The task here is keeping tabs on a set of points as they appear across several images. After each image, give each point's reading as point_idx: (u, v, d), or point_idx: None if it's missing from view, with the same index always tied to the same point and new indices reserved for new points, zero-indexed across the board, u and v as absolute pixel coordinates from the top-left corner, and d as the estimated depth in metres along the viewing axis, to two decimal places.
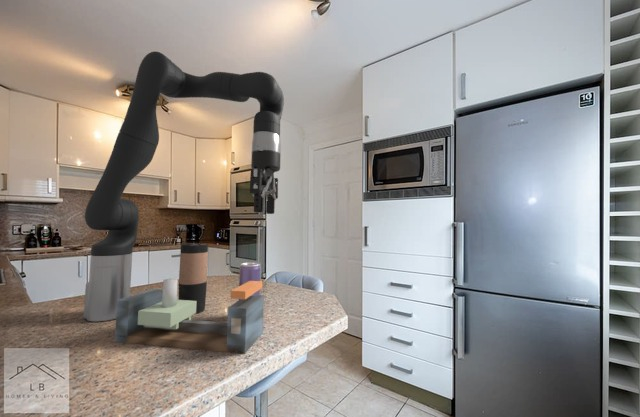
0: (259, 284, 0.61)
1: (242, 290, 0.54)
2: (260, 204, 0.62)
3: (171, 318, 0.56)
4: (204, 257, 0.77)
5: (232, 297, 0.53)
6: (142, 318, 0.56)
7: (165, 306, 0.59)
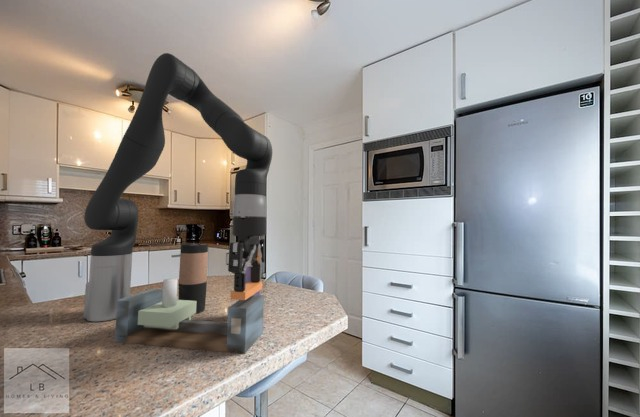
0: (259, 285, 0.61)
1: None
2: (241, 282, 0.53)
3: (171, 318, 0.56)
4: (204, 257, 0.77)
5: (232, 298, 0.53)
6: (142, 318, 0.56)
7: (165, 306, 0.59)
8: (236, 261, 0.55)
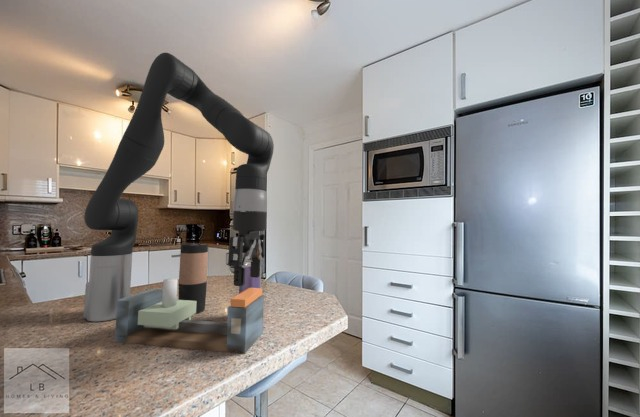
0: (259, 291, 0.61)
1: (242, 298, 0.54)
2: (241, 277, 0.53)
3: (171, 318, 0.56)
4: (204, 257, 0.77)
5: (231, 305, 0.53)
6: (142, 318, 0.56)
7: (165, 306, 0.59)
8: (236, 255, 0.55)
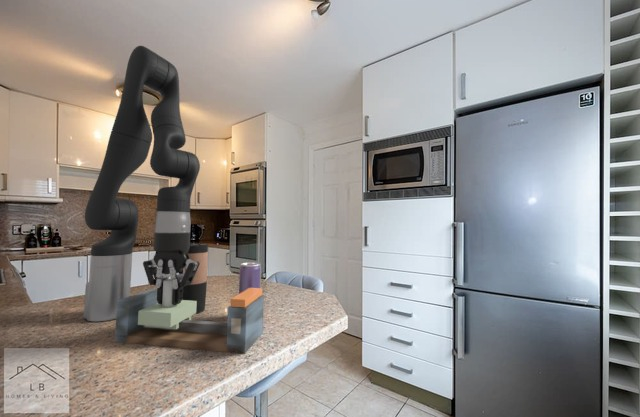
0: (259, 291, 0.61)
1: (242, 298, 0.54)
2: (158, 295, 0.60)
3: (172, 318, 0.56)
4: (204, 257, 0.77)
5: (231, 305, 0.53)
6: (142, 318, 0.56)
7: (165, 306, 0.59)
8: None
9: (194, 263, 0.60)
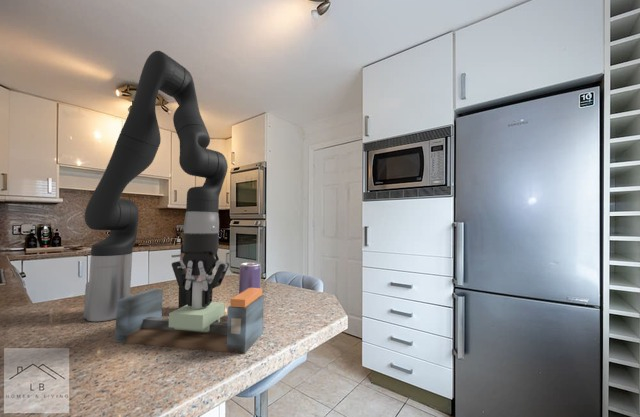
0: (259, 291, 0.61)
1: (242, 298, 0.54)
2: (187, 297, 0.59)
3: (203, 320, 0.55)
4: None
5: (231, 305, 0.53)
6: (173, 320, 0.55)
7: (195, 308, 0.58)
8: None
9: (224, 264, 0.59)
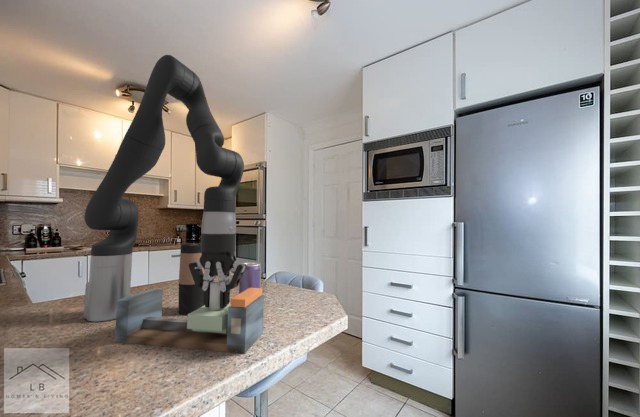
0: (259, 291, 0.61)
1: (242, 298, 0.54)
2: (204, 298, 0.59)
3: (223, 321, 0.54)
4: None
5: (231, 305, 0.53)
6: (192, 321, 0.55)
7: (213, 309, 0.57)
8: None
9: (242, 265, 0.58)
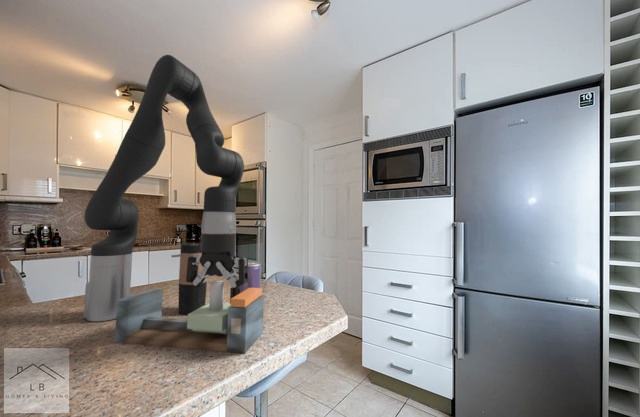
0: (259, 291, 0.61)
1: (242, 298, 0.54)
2: (195, 293, 0.59)
3: (223, 321, 0.54)
4: None
5: (231, 305, 0.53)
6: (192, 321, 0.55)
7: (213, 309, 0.57)
8: None
9: (243, 258, 0.58)
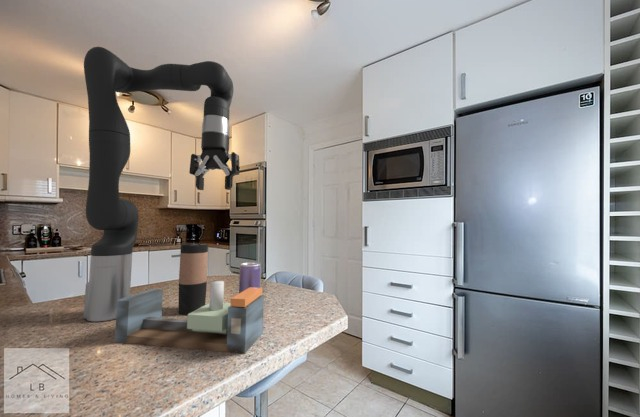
0: (259, 291, 0.61)
1: (242, 298, 0.54)
2: (196, 182, 0.74)
3: (223, 321, 0.54)
4: (204, 257, 0.77)
5: (231, 305, 0.53)
6: (192, 321, 0.55)
7: (213, 309, 0.57)
8: None
9: None
